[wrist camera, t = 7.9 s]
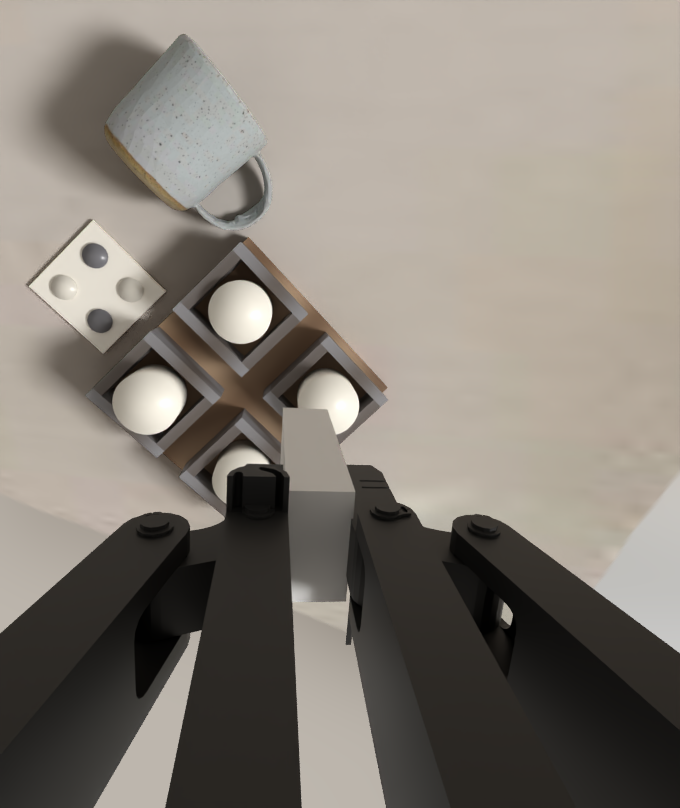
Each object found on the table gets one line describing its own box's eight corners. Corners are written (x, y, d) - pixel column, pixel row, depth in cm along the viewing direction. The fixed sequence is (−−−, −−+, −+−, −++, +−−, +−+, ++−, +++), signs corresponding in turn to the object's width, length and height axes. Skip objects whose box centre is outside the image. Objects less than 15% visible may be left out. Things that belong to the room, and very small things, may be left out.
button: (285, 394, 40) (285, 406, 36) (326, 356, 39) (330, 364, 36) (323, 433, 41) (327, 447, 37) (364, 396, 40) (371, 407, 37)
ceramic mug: (114, 143, 37) (73, 113, 29) (195, 59, 36) (174, 7, 28) (222, 257, 39) (210, 256, 32) (299, 182, 39) (304, 163, 31)
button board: (97, 388, 41) (78, 400, 37) (249, 238, 39) (245, 234, 35) (242, 515, 45) (238, 538, 41) (384, 384, 43) (394, 395, 39)
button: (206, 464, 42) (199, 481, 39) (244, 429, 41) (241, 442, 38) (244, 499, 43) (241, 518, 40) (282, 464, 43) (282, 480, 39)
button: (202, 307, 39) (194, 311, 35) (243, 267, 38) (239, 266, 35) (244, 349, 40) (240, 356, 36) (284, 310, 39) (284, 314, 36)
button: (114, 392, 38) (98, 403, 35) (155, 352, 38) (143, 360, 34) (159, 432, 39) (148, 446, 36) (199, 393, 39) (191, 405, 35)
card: (30, 286, 38) (27, 286, 38) (94, 220, 38) (92, 219, 37) (104, 353, 40) (102, 354, 40) (166, 291, 39) (164, 291, 39)
